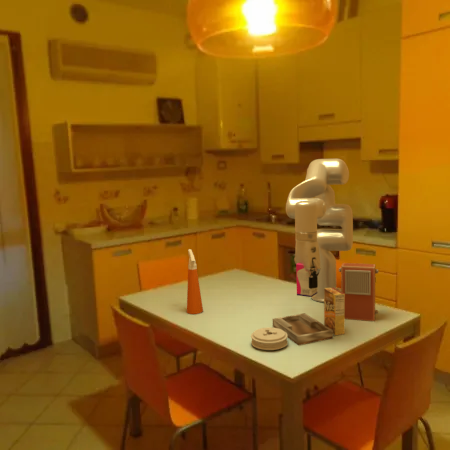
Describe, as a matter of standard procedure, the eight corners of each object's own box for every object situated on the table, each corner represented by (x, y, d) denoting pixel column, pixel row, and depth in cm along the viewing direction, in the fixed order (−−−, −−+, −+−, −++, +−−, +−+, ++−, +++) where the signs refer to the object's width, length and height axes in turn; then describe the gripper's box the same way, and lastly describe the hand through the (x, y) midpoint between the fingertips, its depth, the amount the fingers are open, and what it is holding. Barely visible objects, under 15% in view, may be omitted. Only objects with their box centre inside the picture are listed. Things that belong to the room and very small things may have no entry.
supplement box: (317, 292, 170) (317, 261, 168) (311, 297, 165) (311, 265, 163) (302, 290, 173) (302, 260, 171) (296, 295, 168) (295, 263, 166)
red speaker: (339, 313, 193) (378, 316, 188) (337, 319, 187) (377, 322, 182) (339, 262, 190) (378, 263, 185) (337, 266, 183) (378, 268, 178)
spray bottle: (199, 305, 211) (196, 247, 207) (204, 313, 200) (201, 252, 196) (184, 307, 209) (180, 248, 205) (188, 315, 199) (184, 253, 195)
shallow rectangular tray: (304, 320, 187) (304, 313, 187) (333, 338, 169) (332, 330, 168) (272, 326, 182) (272, 318, 182) (298, 345, 164) (297, 337, 163)
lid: (268, 335, 175) (267, 322, 174) (295, 344, 165) (294, 330, 165) (243, 345, 166) (243, 332, 165) (271, 356, 157) (270, 341, 156)
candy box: (323, 327, 179) (323, 288, 177) (334, 325, 180) (333, 286, 178) (334, 335, 171) (334, 294, 168) (345, 334, 172) (345, 293, 169)
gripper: (329, 239, 159) (329, 289, 161) (303, 231, 175) (304, 277, 178) (309, 241, 156) (310, 292, 159) (285, 233, 172) (286, 280, 175)
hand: (307, 284), depth 168 cm, fingers closed on supplement box, 7 cm apart
